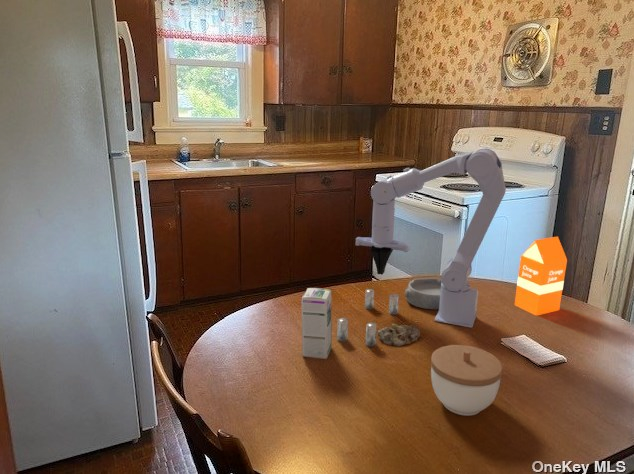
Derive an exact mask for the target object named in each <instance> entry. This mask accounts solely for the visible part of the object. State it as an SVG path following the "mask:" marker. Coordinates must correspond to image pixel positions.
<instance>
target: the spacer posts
mask: <svg viewBox="0 0 634 474" xmlns="http://www.w3.org/2000/svg"><path fill="white" fill-rule="evenodd" d="M364 295H365V296H364V309H366V310H373V309H375V307H374V306H375V305H374V303H375V290H374V289H373V288H367V289H365V292H364ZM399 301H400V295H399V294H398V293H390V294H389V302H388V303H389V304H388V314H390V315H392V316H395V315H398V314H399ZM336 322H337V323H336V324H337V325H336V326H337V330H336V331H337V332H336V333H337V334H336V340H337V341H339V342H347V340H348V324H349V323H348V318H345V317H340V318H337V321H336ZM377 326H378V325H377V323H375V322H367V323H366V324H365V328H366V329H365V346H367V347H369V348H370V347H371V348H374V347H376V345H377V331H378V330H377V329H378V328H377Z"/></svg>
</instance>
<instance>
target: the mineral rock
mask: <svg viewBox="0 0 634 474" xmlns="http://www.w3.org/2000/svg"><path fill="white" fill-rule="evenodd" d="M420 333H421V331H420V329H419V327H418V326H416V325H406V324H405V325H404V324H403V325H398V324H396V323H394V322H393V323H392V324H391V325H390V327H388V326H384V327H383V328H380V329H379V330H376V334H377V336H378V339H380V340H381V341H382V342H383V343H384V344H385V345H392V346H397V347H401V346H403V345H408V344H411V343H413V342H414V341H415V342H416V341H417V340H418V338H419V337H420Z"/></svg>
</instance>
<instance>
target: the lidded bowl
mask: <svg viewBox="0 0 634 474" xmlns="http://www.w3.org/2000/svg"><path fill="white" fill-rule="evenodd" d="M430 364H431V365H430V366H431V367H430V368H431V369H430V378H431V379H430V381H431V385H432V389H433V392H434V394H435V396H436V397H437V399H438V400H439V402H441V403H442V404H443V406H444V408H445V409H447V410H448V411H449V412H451V413H454V414H456V415H459V416H463V417H466V416H468V417H469V416H475V415H477V414H479V413H481V411H484V410H485V409H487V408H488V407H490V405H492V403H493V402H494V400H495V399H496V396H497V395H498V392H499V388H500V383H501V377H502V376H503V365H502V363H501V361H500V360H499V359H498V358H497V357H496V356H495V355H493V354H492V353H490V352H488V351H486V350H484V349H483V348H478V347H475V346H470V345H464V344H463V345H462V344H449V345H444V346H441V347H439V348H437V349H435V350H434V351H433V352H432V354H431V358H430Z"/></svg>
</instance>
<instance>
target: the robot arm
mask: <svg viewBox="0 0 634 474" xmlns="http://www.w3.org/2000/svg"><path fill="white" fill-rule="evenodd" d="M402 171H403V172H400V173H398V174H395V175H393V176H392V175H390V174H389V175H388V176H386V179H382V180H380V181H378V182H376V183H374V184H373V186H372V187H371V189H370V196H371V199H372V200H373V202H372V203H373V204H372V217H371V218H372V221H371V222H372V223H371V227H372V228H371V237H369V236H368V237H364V236H363V237H361V236H357V237H356V238H355V246H363V247H371V249H369V250H370V254H371V257H372V258H373V261H374V264H375V268H376V274H377V275H384V273H385V270H386V266H387V263H388V261H389V260H390V259H389V258H390V256H391V254H392V252H393V251H394V250H395V251H401V252H402V251H403V252H404V253H408V252H409V251H410V246H411V244H410V243H408V242H403V241H400V240H396V239H394V231H395V230H394V229H395V211H396V209H395V207H396V205H395V203H396V201H395V200H396V198H402V197H404V196H407V195H409V194H413V193H415V192H417V191H420V190H422V189H423V187H424V185H425V183H427V182H430V181H432V180H436V179H440V178H442V177H445V176H448V175H450V174H453V173H455V174H458V175H462V176H465V175H466V174H468V175H469V177H471V178H472V180H473V181H475V182H476V183H477V184H478V186H479V189H480V191H481V193H482V196H481V198H480V201H479V202H478V205H477V206H476V208H475V211H474V213H473V216H472V217H471V220H470V222H469V224H468V227H467V228H466V230H465V233H464V236H463V237H462V239H461V241H460V244H459V245H458V248H457V250H456V252H455V254H454V256H453V257H452V258H450V260H449V261H448V262H447V265H446V266H445V268H444V270H442V272H441V274H440V279H441V282H442V283H441V292H440V304H439V309H438V311H437V312H436V313H437V314H436V316H435V317H434V322H440V323H445V324H450V325H454V326H455V325H456V326H460V327H466V328H474V327H473V326H474V324H475V321H476V318H477V315H478V310H477V309H478V299H479V290H478V289H475V288H473V287H471V284H470V282H469V280H468V279H469V278H470V276H471V274H472V269H473V268H472V263H473V261H474V259H475V257H476V255H477V253H478V250H479V248H480V247H481V244H482V242H483V240H484V238H485V236H486V234H487V232H488V229H489V227H490V225H491V224H492V221H493V220H494V217H495V215H496V213H497V211H498V209H499V207H500V204H501V203H502V201H503V199H504V198H505V197H504V196H505V195H506V192H507V191H506V190H507V189H506V183H505V178H504V172H503V164H502V160H500V157H499V156H498V154H497V153H496V152H495V151H494V150H492V149H491V148H480V149H478V150H476V151H475V152H474V151H470V152H466V153H462V154H458V155H456V156H452V157H451V158H448V159H445V160H443V161H441V162H439V163H437V164H433V165H432V166H430V167H427V168H425V169H422V170H420V169H417V168H415V167H413V168H410V167H406V168H404V169H403V170H402Z"/></svg>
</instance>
